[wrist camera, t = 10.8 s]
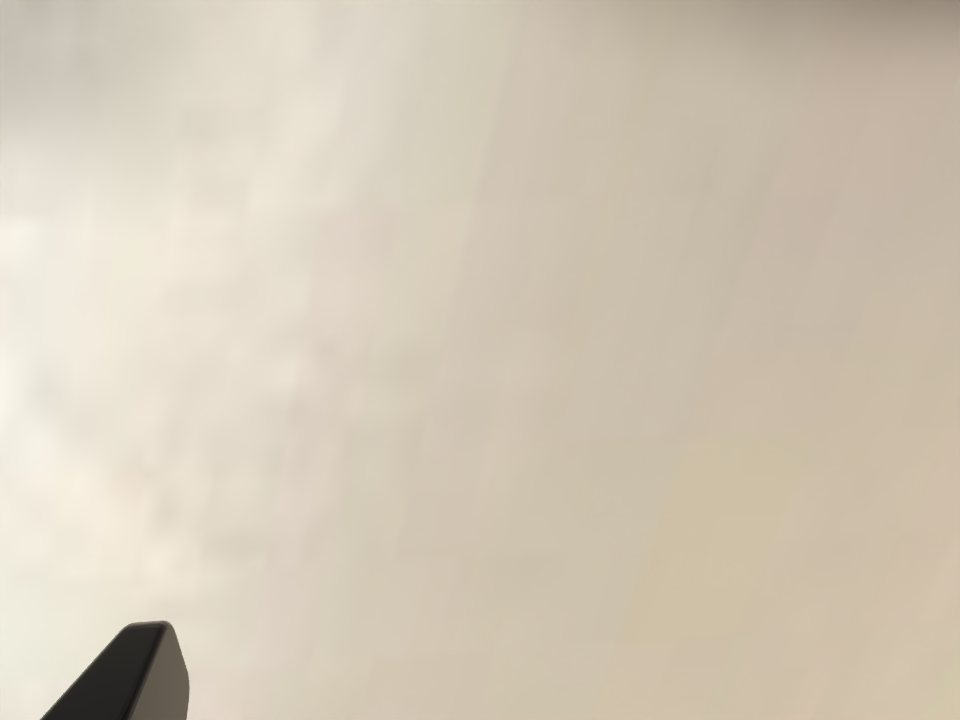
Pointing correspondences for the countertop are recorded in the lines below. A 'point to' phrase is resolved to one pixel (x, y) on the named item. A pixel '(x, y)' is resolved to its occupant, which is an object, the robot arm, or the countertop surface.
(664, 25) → the countertop surface
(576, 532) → the countertop surface
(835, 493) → the countertop surface
